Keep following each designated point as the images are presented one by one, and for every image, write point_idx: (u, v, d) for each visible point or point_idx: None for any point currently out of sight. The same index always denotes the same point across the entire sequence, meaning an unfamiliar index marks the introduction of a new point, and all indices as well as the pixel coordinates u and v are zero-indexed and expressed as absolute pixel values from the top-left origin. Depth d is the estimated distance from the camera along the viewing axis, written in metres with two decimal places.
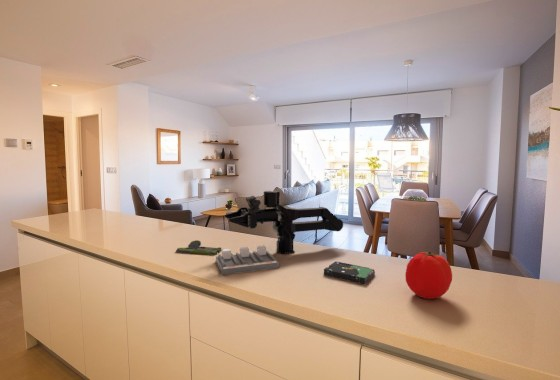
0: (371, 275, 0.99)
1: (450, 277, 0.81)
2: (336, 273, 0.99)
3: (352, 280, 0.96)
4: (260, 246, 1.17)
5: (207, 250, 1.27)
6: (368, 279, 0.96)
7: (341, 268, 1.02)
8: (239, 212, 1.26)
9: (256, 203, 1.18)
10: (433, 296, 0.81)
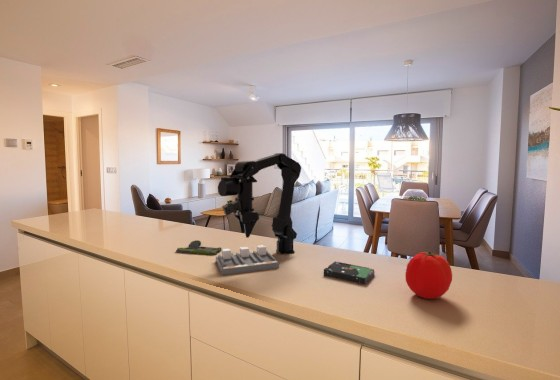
0: (371, 275, 0.99)
1: (450, 277, 0.81)
2: (336, 273, 0.99)
3: (352, 280, 0.96)
4: (260, 246, 1.17)
5: (207, 250, 1.27)
6: (368, 279, 0.96)
7: (341, 268, 1.02)
8: (239, 217, 1.16)
9: (231, 208, 1.06)
10: (433, 296, 0.81)
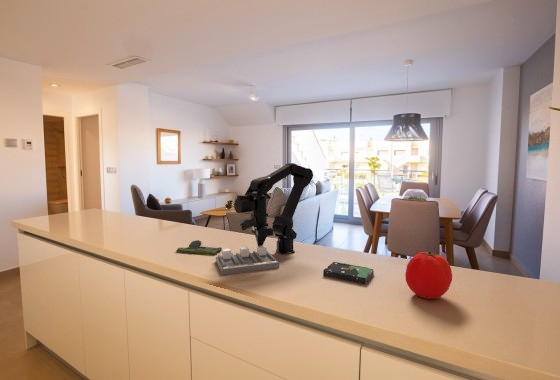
0: (371, 275, 0.99)
1: (450, 277, 0.81)
2: (336, 274, 0.98)
3: (352, 280, 0.96)
4: (260, 246, 1.17)
5: (207, 250, 1.27)
6: (368, 279, 0.96)
7: (341, 269, 1.02)
8: None
9: (247, 224, 1.13)
10: (433, 296, 0.81)
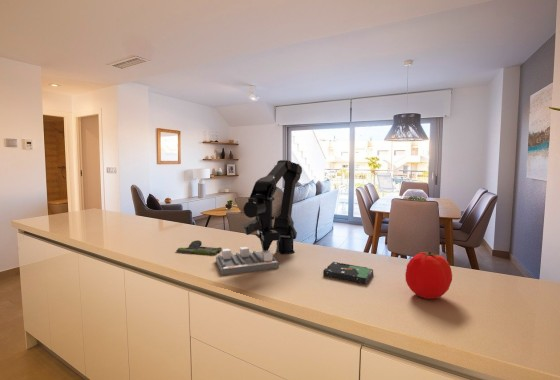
0: (370, 275, 0.99)
1: (450, 277, 0.81)
2: (336, 274, 0.98)
3: (352, 280, 0.96)
4: (266, 251, 1.10)
5: (207, 250, 1.27)
6: (368, 279, 0.96)
7: (341, 269, 1.01)
8: None
9: (252, 228, 1.06)
10: (433, 296, 0.81)
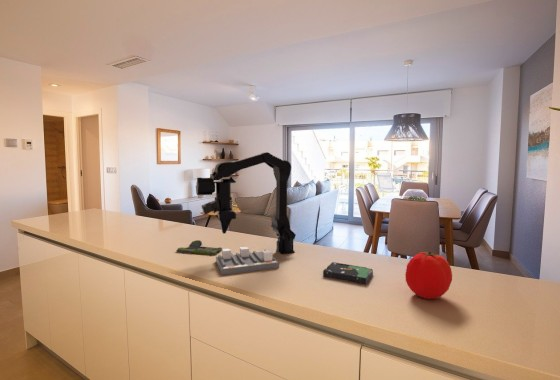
0: (370, 275, 0.99)
1: (450, 277, 0.81)
2: (336, 274, 0.98)
3: (353, 280, 0.95)
4: (266, 251, 1.10)
5: (207, 250, 1.27)
6: (368, 279, 0.96)
7: (340, 269, 1.01)
8: None
9: (209, 207, 1.10)
10: (433, 296, 0.81)
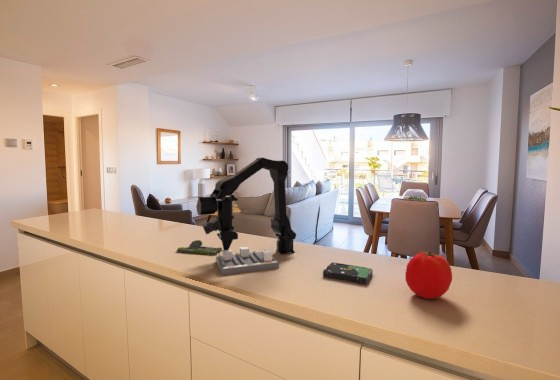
0: (370, 275, 0.99)
1: (450, 277, 0.81)
2: (336, 274, 0.98)
3: (353, 281, 0.95)
4: (266, 251, 1.10)
5: (207, 250, 1.27)
6: (368, 279, 0.96)
7: (340, 269, 1.01)
8: None
9: (210, 227, 1.07)
10: (433, 296, 0.81)
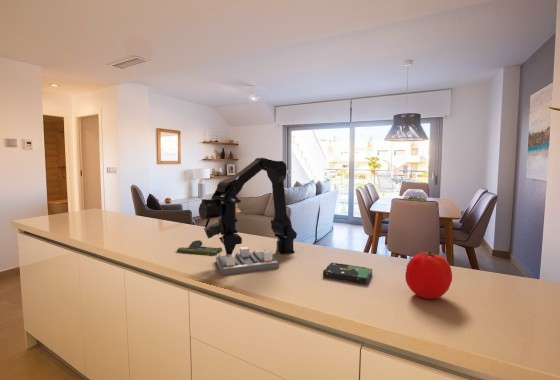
0: (370, 275, 0.99)
1: (450, 277, 0.81)
2: (336, 274, 0.98)
3: (353, 281, 0.95)
4: (266, 251, 1.10)
5: (207, 250, 1.27)
6: (368, 279, 0.96)
7: (340, 269, 1.01)
8: None
9: (213, 231, 1.01)
10: (433, 296, 0.81)
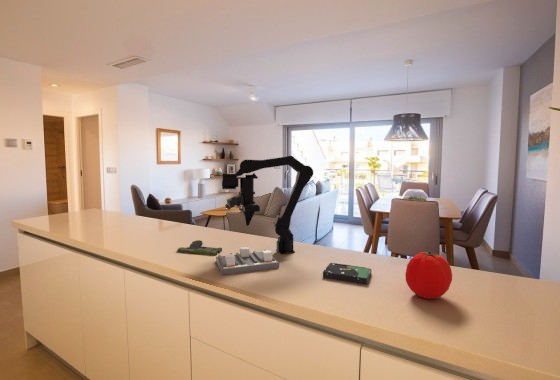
0: (370, 274, 0.99)
1: (450, 277, 0.81)
2: (336, 275, 0.97)
3: (353, 281, 0.95)
4: (266, 251, 1.10)
5: (207, 250, 1.27)
6: (368, 279, 0.96)
7: (340, 270, 1.01)
8: None
9: (235, 201, 1.19)
10: (433, 296, 0.81)
